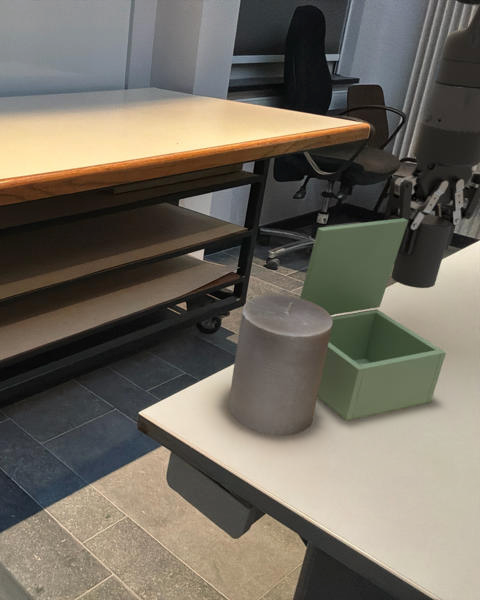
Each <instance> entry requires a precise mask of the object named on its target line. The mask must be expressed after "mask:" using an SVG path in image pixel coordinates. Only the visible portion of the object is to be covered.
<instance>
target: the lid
mask: <svg viewBox="0 0 480 600" xmlns="http://www.w3.org/2000/svg"><path fill="white" fill-rule="evenodd" d="M407 223H408V220H406V219H404V218H401V219H393V220H388V219H386V220H385V219H383V220H375V221H367V222H361V221H358V222H357V221H355V222H349V223H348V222H346V223H338V224H329V225H324V226H322V227H317V230H316V233H315V234H316V235H315V239H314V242H313V247H312V249H311V253H310V257H309V260H308V265H307V268H306V269H307V270H306V273H305V278H304V281H303V285H302V289H301V293H300V296H299V298H300V299H304V300H307V301H310V302H312V303H314V304H316V305H318V306H320V307H322V308H323V309H324V310H326V311H327V312H328V313H329V315H330V316H336V315H342V314H348V313H352V312H353V313H354V312H360V311H366V310H372V309H377V308H380V307H381V304H382V301H383V298H384V295H385V292H386V289H387V286H388V283H389V280H390V277H391V275H392V272H393V268H394V264H395V260H396V256H397V253H398V250H399V247H400V244H401V241H402V238H403V235H404V232H405V229H406V226H407Z"/></svg>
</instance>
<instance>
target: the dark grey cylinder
mask: <svg viewBox="0 0 480 600" xmlns="http://www.w3.org/2000/svg"><path fill="white" fill-rule="evenodd" d="M414 215H415V213H412V214H411V216H410V218H413V216H414ZM451 226H452V223H451V222H450V221H449V220H447V219H445V218H443V217H439V215H435V214H431V213H429V214H428V215H425V216H424V218H423V220H422V221H421V223H420V225H419V226H418V228H417V230H418V232H417V236H416V240H415V244H414V247H413V251H412V254H411V255H410V256H403V255H401V254H399V253H397V256H396V259H395V262H394V265H393V268H392V271H391V278H392V279H393V281H394V282H397V283H399V284H400V285H404V286H405V287H410V288H415V289H429V288H433V287H434V286H435V285H436V281H437V278H438V275H439V271H440V268H441V264H442V260H443V258H444V253H445V252H446V251H445V247H446V244H447V240H448V237H449V233H450V230H451Z"/></svg>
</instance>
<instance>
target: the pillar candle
mask: <svg viewBox="0 0 480 600" xmlns="http://www.w3.org/2000/svg"><path fill="white" fill-rule="evenodd" d="M242 307H243V308H242V311H241V318H240V325H239V332H238V336H237V344H236V352H235V357H234V365H233V370H232V378H231V384H230V385H231V386H230V389H229V397H228V405H227V407H228V410H229V413H230V414H231V416H232V417H233V418H234V419H235V420H236V421H237V422H239V423H240V424H241V425H242V426H244V427H246V428H248V429H251V430H252V431H256V432H258V433H260V434H265V435H271V436H290V435H291V436H292V435H296V434H300V433H301V432H304V431H305V430H307V429H308V428H310V427H311V426H312V424H313V420H314V414H315V409H316V404H317V399H318V396H317V395H318V390H319V385H320V381H321V376H322V371H323V367H324V362H325V358H326V352H327V348H328V343H329V338H330V333H331V329H332V325H333V320H332V318H331V317H332V315H329V313H328V312H327V311H326V310H324V309H323V308H322V307H320V306H318V305H316V304H314V303H312V302H310V301H307V300H304V299H300V297H296V296H291V295H285V294H284V295H283V294H266V295H265V294H264V295H259V296H256V297H253V298H251V299H249V300H248V301H246V302H245V303H244V305H243V306H242Z"/></svg>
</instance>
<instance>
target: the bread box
mask: <svg viewBox="0 0 480 600" xmlns="http://www.w3.org/2000/svg"><path fill="white" fill-rule="evenodd" d="M331 318H332V320H333V325H332V329H331V333H330V338H329V343H328V348H327V352H326V358H325V362H324V367H323V371H322V376H321V381H320V385H319V390H318V395H317V398H319V399H320V400H321V401H322V402H323V403H325V404H326V405H327V406H328V407H329V408H330V409H331V410H333V411H334V412H335V413H336V414H337V415H338V416H340V417H341V418H342V419H343V420H344V421H345V422H349V421H352V420H357V419H363V418H366V417H370V416H376V415H380V414H384V413H388V412H392V411H397V410H403V409H406V408H411V407H416V406H420V405H425V404H429V403H431V402H432V399H433V397H434V394H435V390H436V386H437V383H438V381H439V377H440V374H441V371H442V367H443V363H444V361H445V358H446V354H447V353H446V351H445V350H443V349H442V348H439V347H438V346H437V345H435V344H434V343H432V342H431V341H428V340H427V339H425V338H424V337H422V336H420V335H419V334H418V333H416V332H414V331H413V330H411V329H409V328H408V327H406V326H404V325H403V324H401V323H400V322H398V321H396V320H395V319H393V318H392V317H390V316H389V315H387V314H385V313H384V312H382V311H381V310H379V309H377V308H374V309H368V310H362V311H355V312H353V313H352V312H349V313H343V314H337V315H331Z"/></svg>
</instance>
